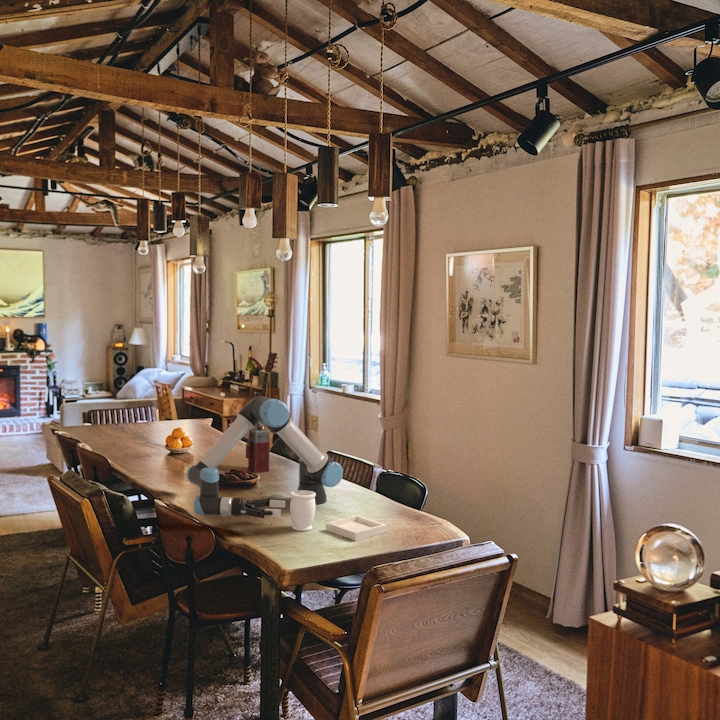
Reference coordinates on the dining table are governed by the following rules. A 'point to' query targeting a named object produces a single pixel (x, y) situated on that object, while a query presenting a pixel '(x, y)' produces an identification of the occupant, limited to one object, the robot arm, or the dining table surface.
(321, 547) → the dining table surface
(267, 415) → the robot arm
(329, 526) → the white square tray
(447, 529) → the dining table surface
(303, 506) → the jar
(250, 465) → the toy vending machine
